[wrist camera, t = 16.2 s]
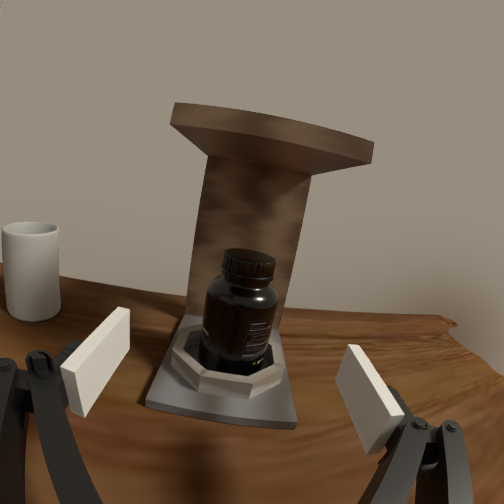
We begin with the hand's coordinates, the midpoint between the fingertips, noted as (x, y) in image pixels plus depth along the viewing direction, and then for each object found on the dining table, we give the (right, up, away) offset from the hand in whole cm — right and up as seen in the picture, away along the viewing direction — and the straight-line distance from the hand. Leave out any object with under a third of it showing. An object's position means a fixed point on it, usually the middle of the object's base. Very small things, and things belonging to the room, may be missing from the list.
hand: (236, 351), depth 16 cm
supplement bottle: (-2, -6, +13) cm, 14 cm away
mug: (-29, -2, +15) cm, 33 cm away
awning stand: (-2, -7, +15) cm, 16 cm away
